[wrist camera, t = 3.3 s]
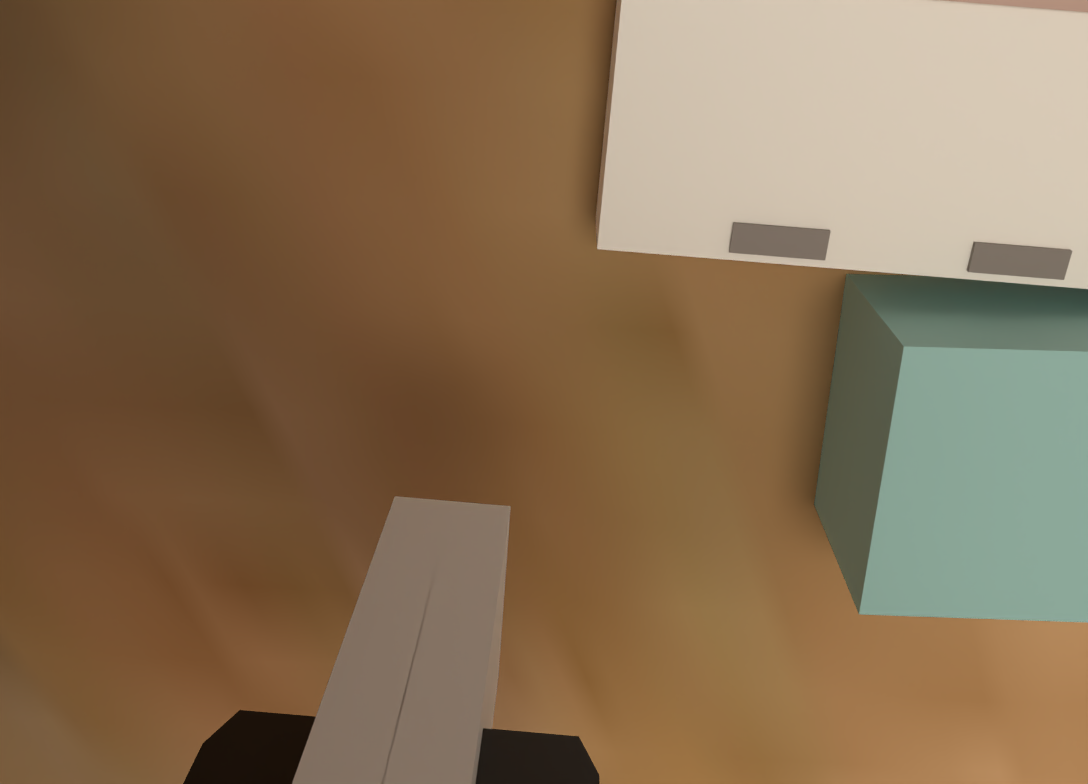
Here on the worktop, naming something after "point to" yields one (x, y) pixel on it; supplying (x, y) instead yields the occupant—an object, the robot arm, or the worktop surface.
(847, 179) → the slab
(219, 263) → the worktop surface
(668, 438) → the worktop surface
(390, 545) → the robot arm
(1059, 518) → the stub
